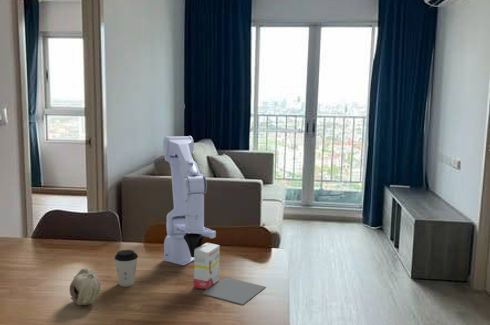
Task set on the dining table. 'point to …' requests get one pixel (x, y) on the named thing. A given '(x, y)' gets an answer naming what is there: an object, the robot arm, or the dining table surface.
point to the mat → (234, 290)
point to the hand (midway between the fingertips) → (194, 256)
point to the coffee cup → (126, 267)
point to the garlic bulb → (84, 287)
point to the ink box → (206, 265)
